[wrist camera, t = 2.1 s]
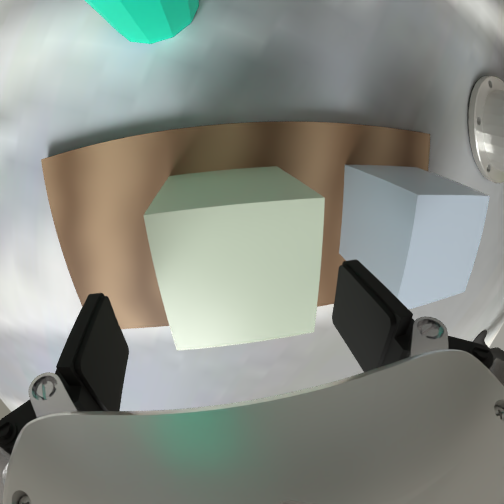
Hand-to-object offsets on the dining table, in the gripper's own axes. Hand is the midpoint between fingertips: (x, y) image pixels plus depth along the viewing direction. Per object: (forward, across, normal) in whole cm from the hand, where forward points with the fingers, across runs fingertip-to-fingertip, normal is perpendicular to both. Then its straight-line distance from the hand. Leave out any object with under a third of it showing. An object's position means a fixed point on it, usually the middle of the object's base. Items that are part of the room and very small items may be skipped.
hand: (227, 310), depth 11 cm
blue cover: (+9, -13, 0) cm, 16 cm away
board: (+10, -3, +1) cm, 11 cm away
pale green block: (+9, -1, 0) cm, 9 cm away
